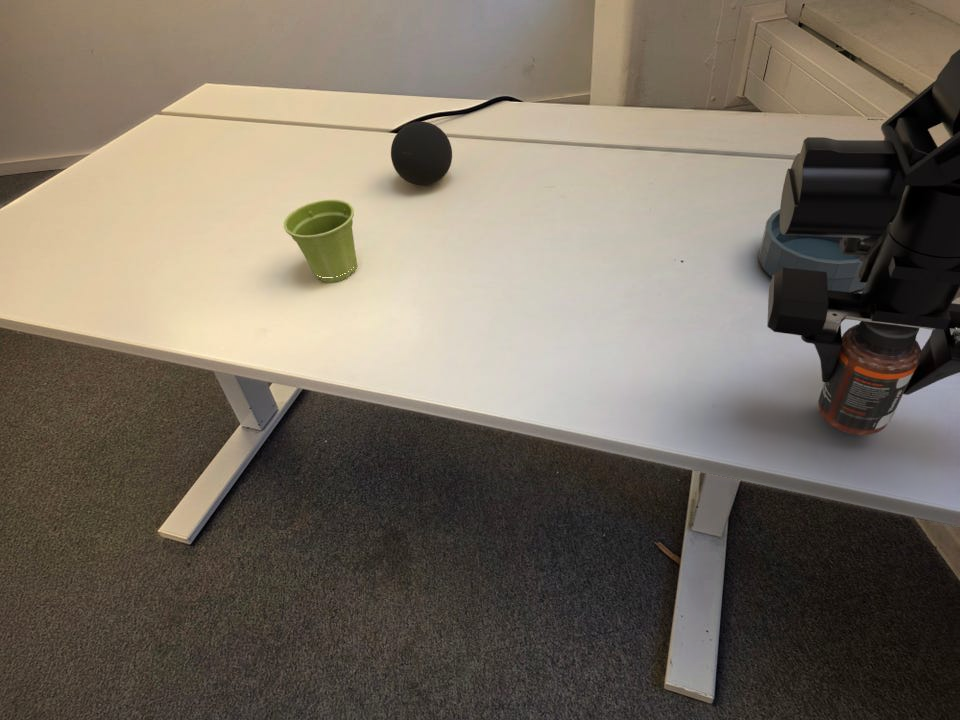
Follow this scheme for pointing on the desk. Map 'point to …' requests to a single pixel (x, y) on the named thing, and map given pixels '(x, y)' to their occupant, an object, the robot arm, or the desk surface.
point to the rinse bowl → (809, 256)
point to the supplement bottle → (869, 377)
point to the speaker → (421, 153)
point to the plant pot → (325, 237)
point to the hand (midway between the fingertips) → (863, 384)
